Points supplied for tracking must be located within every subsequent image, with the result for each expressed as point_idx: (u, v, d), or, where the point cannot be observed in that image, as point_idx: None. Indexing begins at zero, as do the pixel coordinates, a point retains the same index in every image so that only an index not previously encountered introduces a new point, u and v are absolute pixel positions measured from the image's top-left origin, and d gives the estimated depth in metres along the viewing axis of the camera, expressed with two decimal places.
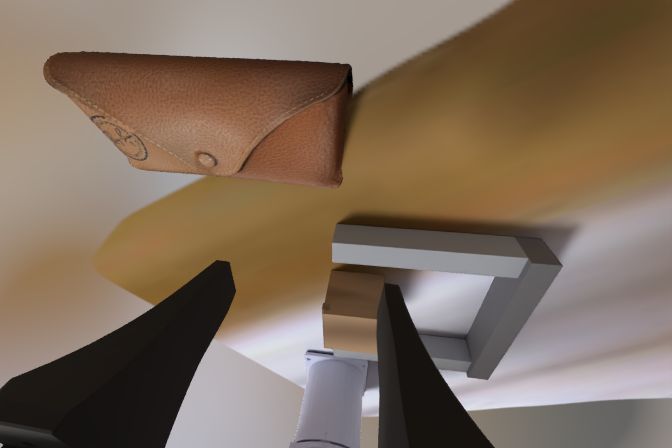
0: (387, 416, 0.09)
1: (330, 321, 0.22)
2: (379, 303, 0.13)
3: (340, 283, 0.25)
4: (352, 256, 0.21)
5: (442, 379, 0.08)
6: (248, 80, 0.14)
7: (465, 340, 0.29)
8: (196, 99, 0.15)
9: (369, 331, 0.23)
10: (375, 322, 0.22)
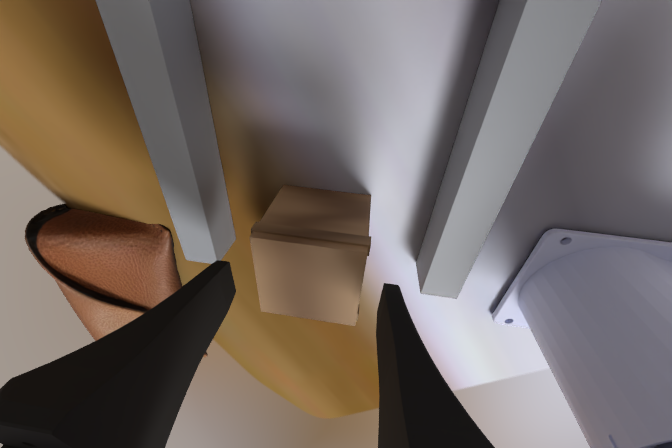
0: (387, 416, 0.09)
1: (277, 306, 0.14)
2: (379, 303, 0.13)
3: None
4: (200, 242, 0.15)
5: (442, 379, 0.08)
6: None
7: None
8: (84, 322, 0.21)
9: (290, 261, 0.12)
10: (260, 251, 0.12)
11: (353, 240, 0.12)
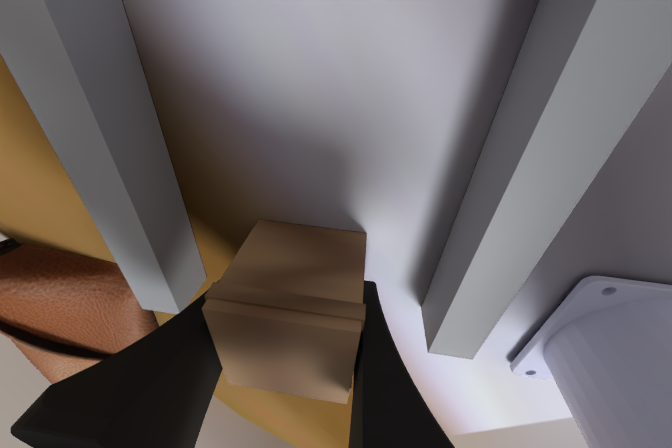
0: (355, 411, 0.09)
1: (247, 380, 0.11)
2: None
3: None
4: (156, 291, 0.13)
5: (406, 373, 0.08)
6: None
7: None
8: (41, 372, 0.18)
9: (258, 336, 0.09)
10: (218, 324, 0.09)
11: (342, 311, 0.09)
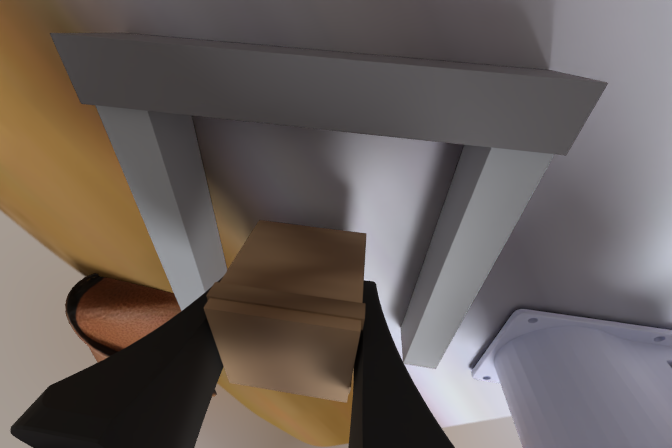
0: (355, 411, 0.09)
1: (248, 379, 0.11)
2: None
3: None
4: None
5: (406, 373, 0.08)
6: None
7: None
8: None
9: (259, 335, 0.09)
10: (220, 323, 0.09)
11: (341, 311, 0.09)
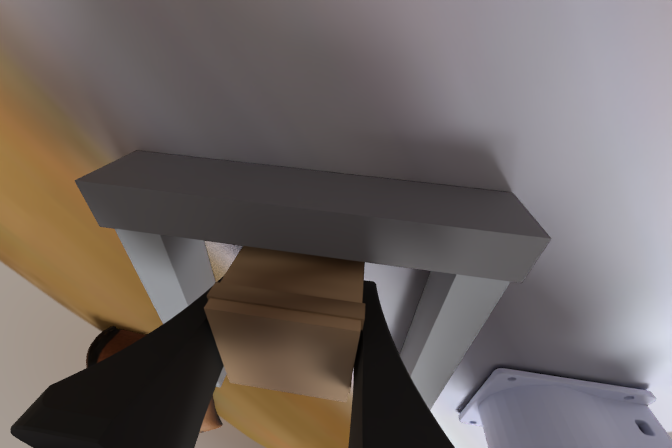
0: (355, 411, 0.09)
1: (249, 378, 0.11)
2: None
3: None
4: None
5: (406, 373, 0.08)
6: None
7: None
8: None
9: (259, 335, 0.09)
10: (220, 323, 0.09)
11: (341, 310, 0.09)
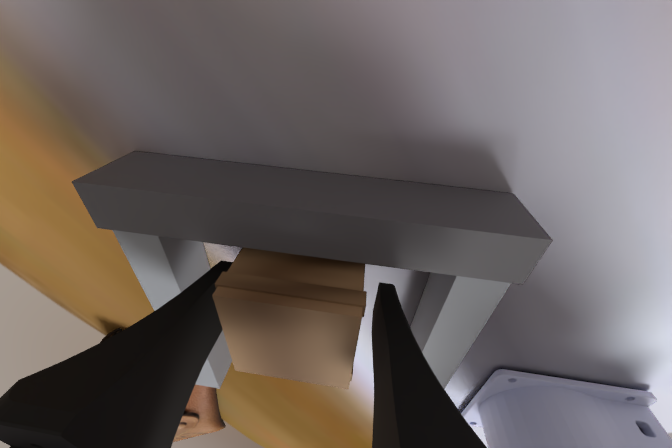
0: (381, 415, 0.09)
1: (254, 366, 0.12)
2: (375, 302, 0.13)
3: None
4: (204, 375, 0.18)
5: (435, 378, 0.08)
6: None
7: None
8: None
9: (265, 322, 0.10)
10: (227, 310, 0.09)
11: (343, 298, 0.09)
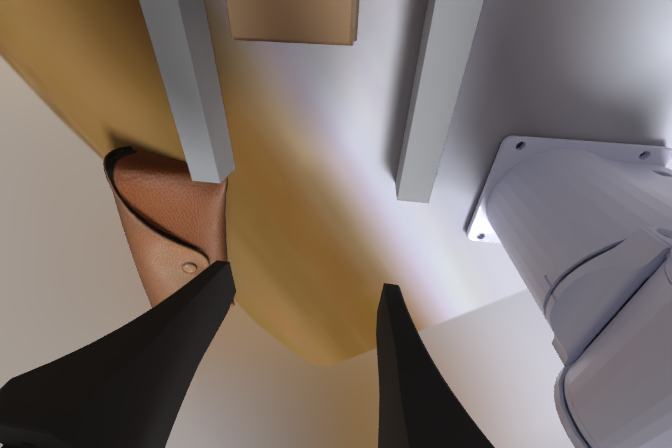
0: (387, 416, 0.09)
1: (250, 19, 0.11)
2: (379, 303, 0.13)
3: None
4: (204, 160, 0.18)
5: (442, 379, 0.08)
6: (122, 224, 0.21)
7: None
8: (138, 257, 0.23)
9: None
10: None
11: None
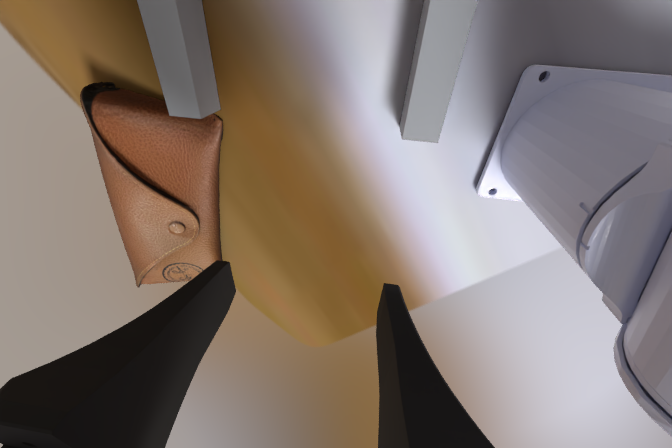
0: (387, 416, 0.09)
1: None
2: (379, 303, 0.13)
3: None
4: (182, 89, 0.15)
5: (442, 379, 0.08)
6: (102, 171, 0.19)
7: None
8: (119, 212, 0.20)
9: None
10: None
11: None
